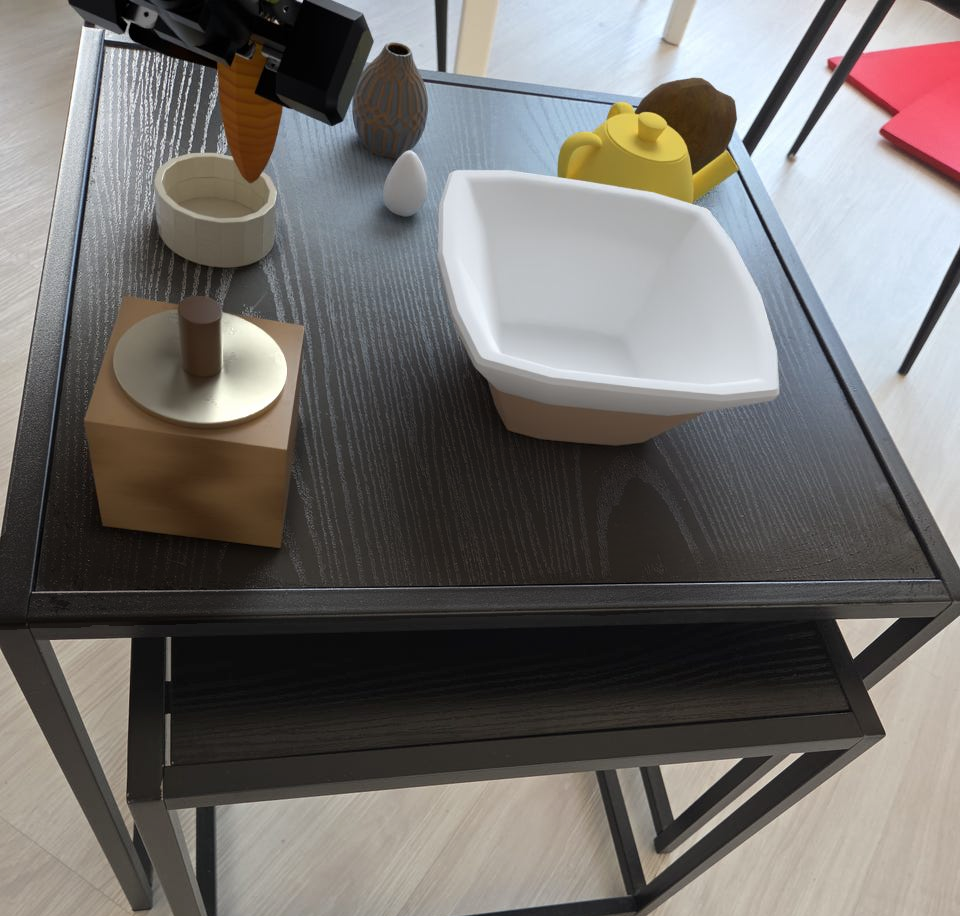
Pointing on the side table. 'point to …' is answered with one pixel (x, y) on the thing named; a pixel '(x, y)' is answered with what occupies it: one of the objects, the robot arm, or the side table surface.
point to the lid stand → (193, 454)
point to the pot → (214, 210)
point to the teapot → (640, 157)
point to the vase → (390, 103)
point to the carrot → (248, 114)
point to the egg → (406, 185)
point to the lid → (200, 366)
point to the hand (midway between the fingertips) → (262, 78)
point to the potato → (695, 116)
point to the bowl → (599, 306)
